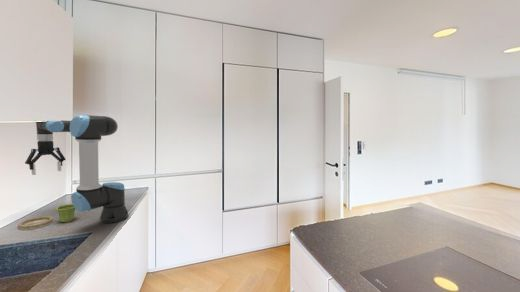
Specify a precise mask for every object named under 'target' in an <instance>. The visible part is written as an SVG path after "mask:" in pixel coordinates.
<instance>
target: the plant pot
mask: <svg viewBox="0 0 520 292" xmlns="http://www.w3.org/2000/svg"><path fill="white" fill-rule="evenodd" d="M56 210H57V212H58V217H59V221H60V222H61V223H68V222H72V221H73V220H74V218H75V212H76V211H75V210H76V209H75V207H74V206H73V204H72V203H70V204H63V205H60V206H58V207H56Z"/></svg>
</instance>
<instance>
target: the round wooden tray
mask: <svg viewBox="0 0 520 292" xmlns="http://www.w3.org/2000/svg"><path fill="white" fill-rule="evenodd" d="M53 222H54V216H50V215H45V216H44V215H43V216H37V217H32V218H28V219H24V220H22V221H20V222H18V223H17V229H18V230H21V231H30V230H34V229H35V230H36V229H41V228H44V227H47V226H49V225H51V224H53Z"/></svg>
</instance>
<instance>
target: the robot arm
mask: <svg viewBox="0 0 520 292" xmlns="http://www.w3.org/2000/svg"><path fill="white" fill-rule="evenodd" d="M35 125H36V140H37V148H31V149H30V153H29V155H28V157H27V159H26V160H25V162H24V164H26V165H28V166H29V170H31V176H32V175H33V176H36V175H37V174H36V164H35V163H36V162H37V161H38V160H39V159H40V158H41V157H42V156H46V155H47V156H52V157H54V158H55V160H57V162H56V166H57V172H62V167H63V162H64V161H66V157H65V156H64V154H63V152H61V149H60V147H56V146H55V145H54V133H70V135H71V136H72V137H74V140H75V141H77V143H78V155H79V156H78V157H79V158H78V160H79V161H78V165H79V167H78V168H79V185H78V186H77V187H76V190H75V192H73V193H72V194H71V196H70V198H71V204H73V206H74V207H75V210H77V211H78V212H82V213H84V212H89V211H91V210H95V209H98V208H102V210H101V212H100V216H99V222H100V223H101V224H113V223H112V222H115V223H119V222H122V221H124V220H126V219H127V218H128V217H129V212H128V209H127V207H126V204H125V203H126V200H125V196H126V194H125V191H126V190H125V184H124V183H122V182H115V181H114V182H113V181H110V182H104V183H102V184H101V183H100V182H99V142H101V140H102V137H107V136H111V135H114V134H115V133H116V132H117V130H118V126H119V125H118V122H117V121H116V120H115V119H114V118H112V117H110V116H105V115H91V114H90V115H89V114H76V115H75V116H74V117H72V119H71V120H61V121H47V122H36V121H35ZM54 146H55V147H54ZM54 151H55V152H56V153H55V152H54ZM37 152H38V153H37Z"/></svg>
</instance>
